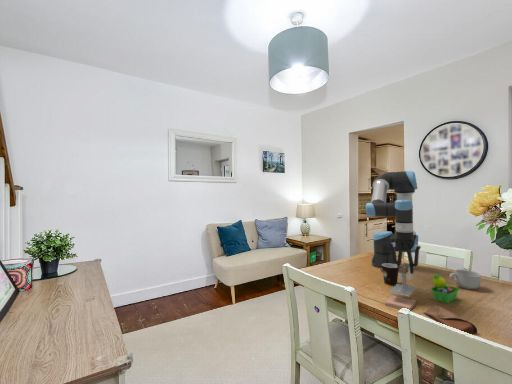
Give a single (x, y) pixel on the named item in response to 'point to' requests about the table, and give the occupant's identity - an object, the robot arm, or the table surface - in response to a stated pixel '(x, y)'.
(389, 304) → the tile
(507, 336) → the table surface
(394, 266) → the coffee mug
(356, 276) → the table surface
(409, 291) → the grey post stand
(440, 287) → the fruit basket
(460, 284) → the teacup
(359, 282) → the table surface
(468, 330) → the sunglasses case
